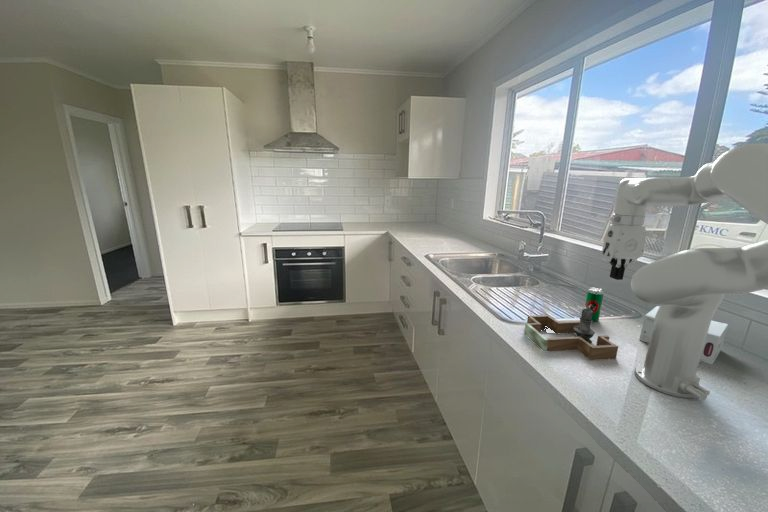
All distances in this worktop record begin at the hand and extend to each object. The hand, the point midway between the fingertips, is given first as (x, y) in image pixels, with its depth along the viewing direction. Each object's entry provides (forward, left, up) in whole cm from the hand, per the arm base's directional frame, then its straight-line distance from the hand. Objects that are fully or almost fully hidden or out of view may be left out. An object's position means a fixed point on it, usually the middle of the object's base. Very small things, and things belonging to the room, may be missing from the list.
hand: (616, 278), depth 95 cm
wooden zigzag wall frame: (0, +14, -21) cm, 25 cm away
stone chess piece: (0, +8, -21) cm, 23 cm away
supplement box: (-6, -20, -21) cm, 30 cm away
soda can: (+14, -6, -21) cm, 26 cm away
